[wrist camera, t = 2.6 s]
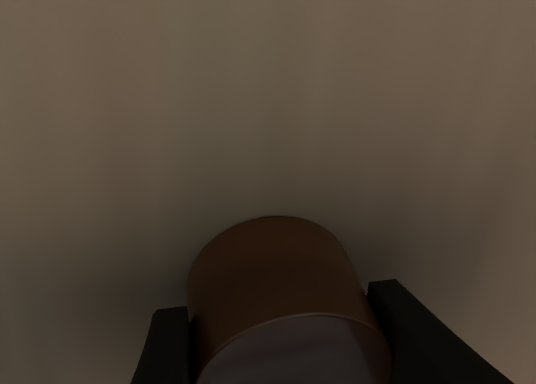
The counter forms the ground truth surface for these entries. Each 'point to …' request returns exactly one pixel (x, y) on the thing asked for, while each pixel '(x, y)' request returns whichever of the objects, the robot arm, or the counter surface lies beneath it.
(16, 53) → the counter surface
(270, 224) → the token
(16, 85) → the counter surface
